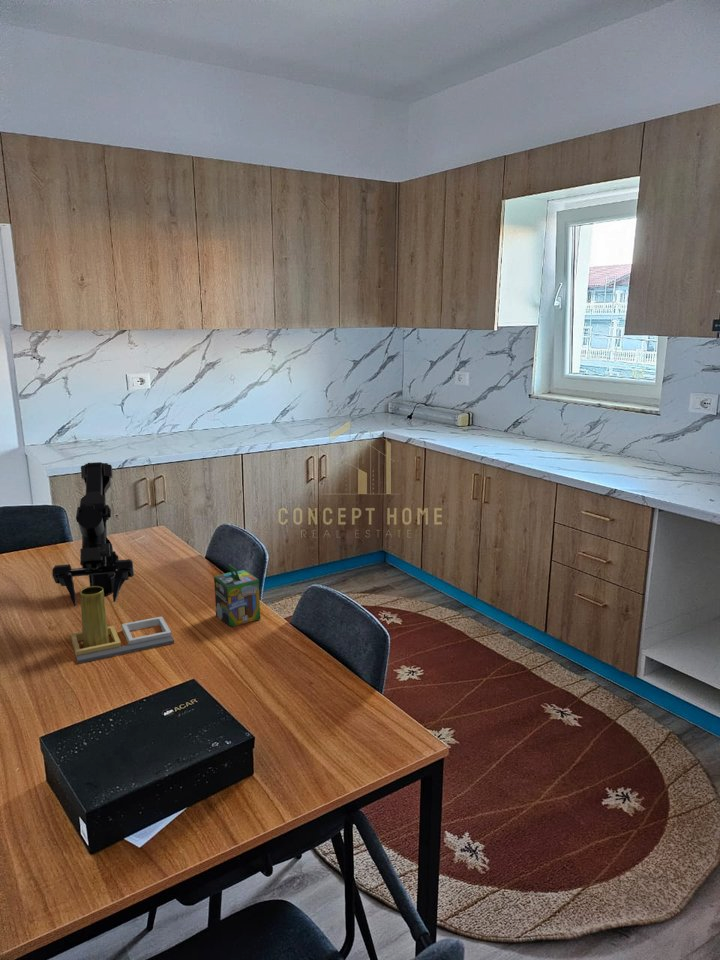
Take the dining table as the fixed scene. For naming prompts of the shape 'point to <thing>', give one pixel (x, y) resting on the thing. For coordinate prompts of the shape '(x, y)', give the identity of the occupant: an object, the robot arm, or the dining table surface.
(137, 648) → the socket panel
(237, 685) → the dining table surface
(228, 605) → the chalk box
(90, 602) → the vase
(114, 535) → the dining table surface
